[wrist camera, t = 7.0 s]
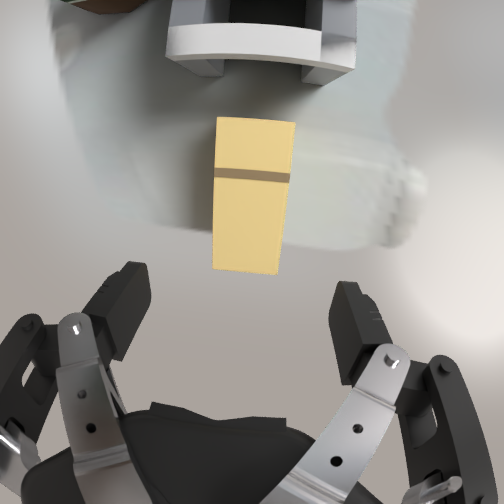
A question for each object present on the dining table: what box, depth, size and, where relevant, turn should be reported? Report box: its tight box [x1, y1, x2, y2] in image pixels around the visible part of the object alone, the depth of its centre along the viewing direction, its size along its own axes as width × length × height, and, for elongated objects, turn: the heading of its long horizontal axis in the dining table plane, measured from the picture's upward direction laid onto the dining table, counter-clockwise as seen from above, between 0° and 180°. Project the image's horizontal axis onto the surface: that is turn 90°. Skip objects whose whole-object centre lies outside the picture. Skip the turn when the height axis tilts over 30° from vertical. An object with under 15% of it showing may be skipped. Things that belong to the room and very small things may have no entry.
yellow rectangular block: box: [212, 117, 295, 275], centre depth 17 cm, size 9×4×4 cm, turn 176°
